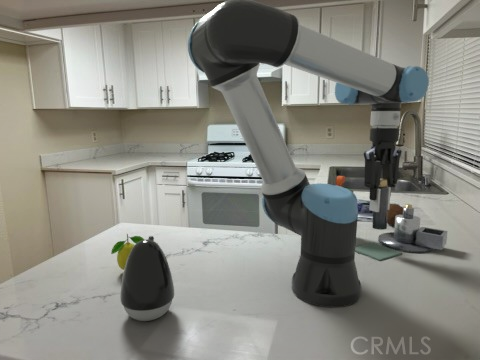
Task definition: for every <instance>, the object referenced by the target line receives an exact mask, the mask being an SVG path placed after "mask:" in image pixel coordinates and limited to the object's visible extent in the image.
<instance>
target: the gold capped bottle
mask: <svg viewBox="0 0 480 360" xmlns="http://www.w3.org/2000/svg"><path fill="white" fill-rule="evenodd" d="M387 188H388V187H387V179H383V178H380V182H379V188H378V189H381V191H380V206H379V212H375V211H372V229H374V230H380V231H381V230H387V229H388V226H387V225H388V223H387Z"/></svg>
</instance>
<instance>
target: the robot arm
mask: <svg viewBox="0 0 480 360" xmlns="http://www.w3.org/2000/svg"><path fill="white" fill-rule="evenodd" d="M187 51H188V56H189V58H190V61H191V62H192V64H193V65H194V67H196V68H197V69H198V70H199V71H201V72H202V73H204V74H205V77H206V78H207V80H208V82H209V84H210V86H211V88H212V89H215V90H216V91H219V92H221V94H222V96H223V98H224V101H225V102H226V104H227V107H228V109H229V111H230V113H231V115H232V117H233V119H234V122H235V124H236V126H237V127H238V130H239V133H240V134H241V137H242V138H243V141H244V143H245V145H246V147H247V149H248V151H249V154H250V156H251V158H252V160H253V162H254V165H255V167H256V169H257V170H258V173H259V175H260V177H261V179H262V184H261V186H260V192H261V194H262V196H263V197H262V198H261V205H262V209H263V211H264V214H265V215H266V216H267V218H269V220H271V221H272V223H274V224H276V225H277V226H280V227H283V229H287V230H288V231H290V232H293V233H294V234H297V236H300V255H299V259H298V262H297V264H296V268H295V272H294V273H293V274H292V278H291V291H292V293H293V294H294V295H295V296H296V297H297V298H299V299H300V300H302V301H304V302H307V303H308V304H313V305H315V306H320V307H326V308H327V307H329V308H341V307H342V308H343V307H347V306H350V305H354V304H355V303H357V302H359V300H360V299H361V296H362V283H361V280H360V279H359V274H358V271H357V270H358V269H357V266H356V262H355V255H356V252H355V247H356V242H357V230H358V229H357V228H358V218H359V217H358V216H359V210H358V198H357V196H356V194H355V193H354V192H352V191H350V190H348V189H349V188H347V189H346V188H345V187H343V186H342V187H340V186H337V185H336V184H335V185H333V184H329V183H321V182H320V183H310V181H309V180H308V176H307V174H306V172H305V171H304V170H303V169H302V168H299V167H297V166H296V165H295V163H294V160H293V158H292V157H293V156H291V153H290V150H289V148H288V146H287V144H286V141H285V139H284V136H283V134H282V132H281V129H280V127H279V123H278V122H277V120H276V117H275V115H274V113H273V111H272V108H271V105H270V103H269V101H268V98H267V97H266V94H265V92H264V89H263V86H262V85H261V83H260V82H261V81H260V80H259V78H258V75H257V74H258V71H259V68H260V66H261V64H263V65H264V64H265V65H268V66H271V67H274V68H281V67H282V66H284V65H286V66H287V67H291V68H294V69H296V70H299V71H303V72H305V73H308V74H311V75H314V76H317V77H320V78H323V79H325V80H327V81H332V82H334V83H335V86H334V97H335V99H336V100H337V102H338V103H340V104H341V105H348V106H353V105H354V106H356V105H357V106H360V105H362V106H371V107H370V108H371V110H370V124H369V125H370V126H371V128H370V129H369V141H370V142H371V147H370V149H369V150H367V151H366V150H365V151H364V152H363V157H364V187H366V188H369V210H368V211H372V212H373V211H375V212H379V206H380V191H381V189H378V188H379V182H380V179H381V176H382V179H387V187H388V188H387V210H389V207H390V204H391V196H392V188H395V187H396V185H397V183H398V178H399V177H398V176H399V167H400V161H401V160H400V159H401V155H402V150H401V149H397V148H396V143H397V142H399V138H400V129H399V128H398V127H399V126H400V125H401V124H400V123H401V109H402V103H403V104H407V103H412V102H418V101H420V100H421V99H423V97H425V95H426V94H427V92H428V87H429V84H430V83H429V82H430V81H429V75H428V73H427V71H426V70H425V69H424V68H423V67H421V66H416V65H415V66H411V65H408V66H406V67H403V66H399V65H397V64H395V63H392V62H389V61H386V60H384V59H382V58H380V57H377V56H374V55H372V54H370V53H368V52H365V51H363V50H361V49H359V48H356V47H354V46H351V45H349V44H347V43H344V42H341V41H339V40H337V39H335V38H333V37H330V36H327V35H325V34H323V33H321V32H319V31H316V30H313V29H311V28H309V27H306V26H305V25H301V24H300V20H299V18H298V16H296V15H294V14H291V13H289V12H287V11H284V10H282V9H280V8H277V7H275V6H272V5H269V4H266V3H263V2H259V1H256V0H225V1H224V2H221V3H220V4H218V5H217V6H216V7H215V8H214V9H212V10H211V11H209V12H208V13H207V14H205V15H204V16H203V17H200V18H199V19H198V20H197V22H196V23H195V24H194V25H193V27H192V28H191V30H190V33H189V36H188V39H187Z"/></svg>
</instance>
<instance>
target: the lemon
mask: <svg viewBox="0 0 480 360" xmlns="http://www.w3.org/2000/svg"><path fill="white" fill-rule="evenodd" d="M129 239H130V240H131V241H132V242H133V243H132V242H129ZM142 240H145V239H144V237H141V236H140V235H134V236H131V237H130V236H129V234H128V233H126V240H122V241H121V240H120V241H118V242H116V243H115V244H114V245H113V246H112V248H111V252H110V253H111V255H113V254H116V253H117V254H116V255H117V256H116V262H117V264H118V265H117V266H118V267H119V268H120V269H121V270H123V271H124V269H125V265H126V261H127V258H128V256H129V254H130V252H131V250H132V248H133V247H134V245H135V244H136V243H138V242H139V241H142ZM134 243H135V244H134Z"/></svg>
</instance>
